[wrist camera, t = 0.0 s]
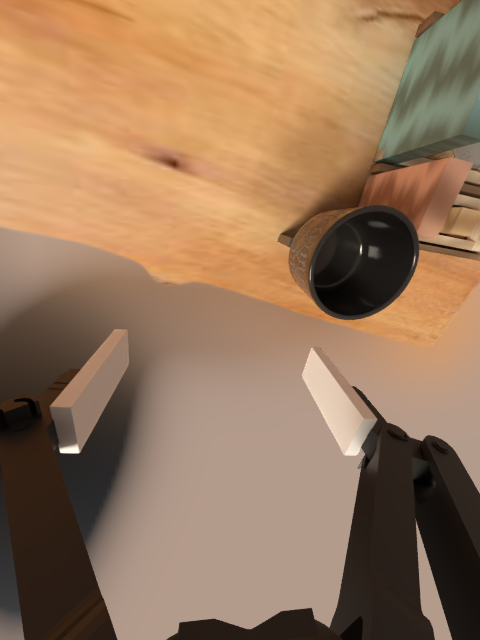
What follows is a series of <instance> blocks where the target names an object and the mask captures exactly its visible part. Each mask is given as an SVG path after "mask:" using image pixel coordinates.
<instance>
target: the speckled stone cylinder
mask: <svg viewBox="0 0 480 640" xmlns="http://www.w3.org/2000/svg"><path fill="white" fill-rule="evenodd" d="M454 155H455V158H457V159H460V160H464V161H468V162H472V163H473V166H472V168H471V169H475V168H479V167H480V142H478V143H475V144H471V145H467V146H463V147H459V148H456V149H454Z"/></svg>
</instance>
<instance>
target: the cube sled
mask: <svg viewBox="0 0 480 640" xmlns="http://www.w3.org/2000/svg"><path fill="white" fill-rule="evenodd" d="M472 166H473V163H472V162H468V161H464V160H460V159H457V158H453V157H449V158H445V159H440V160H436V161H432V162H427V163H423V164H419V165H414V166H410V167H406V168H402V169H397V170H393V171H389V172H384V173H380V174H376V175H372V176H368V179H367V182H366V185H365V188H364V191H363V194H362V197H361V200H360V202H359V205H358V207H363V206H371V205H385V206H389V207H393V208H395V209H397V210H399V211H401V212H402V213H404V214H405V215H406V216H407V217H408V218H409V219H410V220H411V221H412V223H413V225H414V227H415V228H416V231H417V234H418V238H419V241H423V242H428V243H433V244H438V245H443V246H449V247H454V248H459V249H464V250H470V251H477V252H480V217H479V219H478V221H477V223H476V225H475V226H474V228H473V230H472V232H471V234H470V236H469V237H467V238H466V240H463V239H458V238H453V237H448V236H443V235H438V234H439V232H440V230H441V228H442V226H443V224H444V222H445V220H446V218H447V216H448V214H449V212H450V210H451V208H452V206H453V207H464V208H468V209H473V210H477V211H480V199H477V198H473V197H469V196H465V195H460V194H459V192H460V190H461V188H462V186H463V184H464V182H465V180H466V178H467V176H468V174H469V172H470V170H471V168H472Z"/></svg>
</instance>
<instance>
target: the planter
mask: <svg viewBox="0 0 480 640" xmlns="http://www.w3.org/2000/svg"><path fill="white" fill-rule="evenodd" d="M278 242H280V243H282V244H284V245H286V246H288V247H290V251H289V268H290V272H291V275H292V277H293V279H294V280H295V282H296V283H297V284H298V285H299V287H300V288H301V289H302V290H303V291H304V292H305V293H306V294H307V295H308V296H309V297H310V298H311V299H312V300H313V302H314V303H315V304H316V305H317V306H318V307H319V308H320V309H321V310H322V311H324V312H325V313H326V314H328V315H330V316H332V317H335V318H338V319H344V320H356V319H362V318H365V317H369V316H371V315H374V314H376V313H378V312H380V311H381V310H383V309H385V308H386V307H387V306H389V305H390V304H391V303H392V302H394V301H395V300H396V299H397V298H398V297H399V296H400V294H401V293H402V292H403V291H404V290H405V288H406V287H407V285H408V284H409V282H410V280H411V278H412V276H413V274H414V272H415V269H416V266H417V263H418V258H419V238H418V234H417V231H416V228H415V227H414V225H413V223H412V221H411V220H410V219H409V218H408V217H407V216H406V215H405V214H404V213H402V212H401V211H399V210H397V209H395V208H393V207H389V206H385V205H371V206H363V207H355V208H347V209H338V210H331V211H326V212H323V213H320V214H318V215H316V216H314V217H312V218H311V219H310V220H308V221H307V222H306V223H305V224H304V225H303V226H302V227H301V228H300V229H299V231H298V232H297V234H296V235H295V237H294V238H291V237H288V236H285V235H282V234H280V236H279V238H278Z"/></svg>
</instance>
